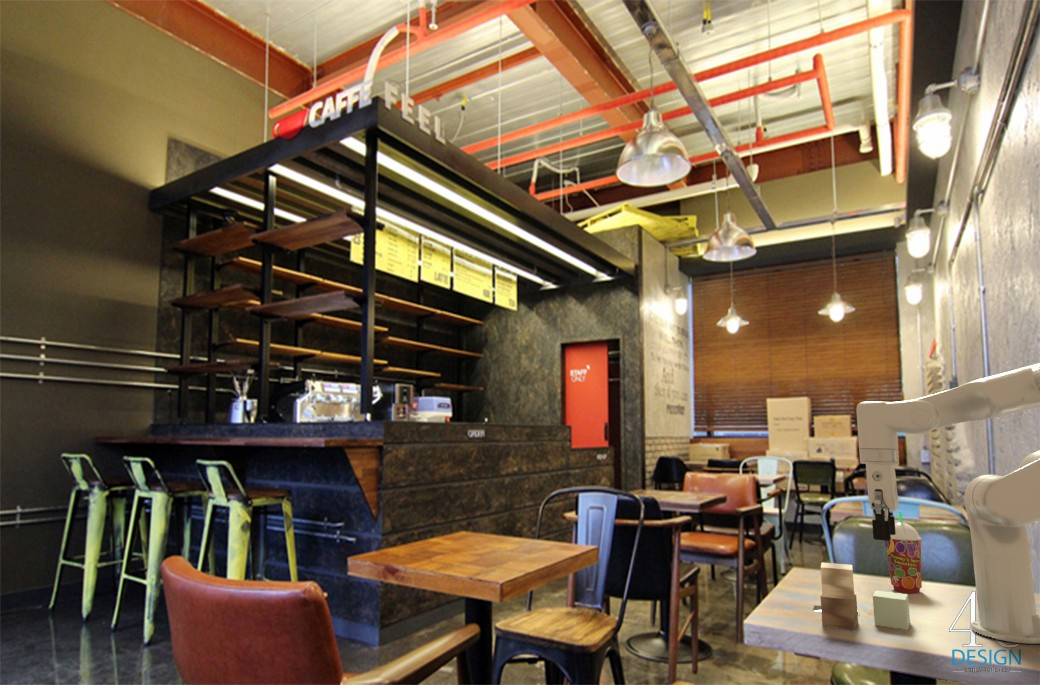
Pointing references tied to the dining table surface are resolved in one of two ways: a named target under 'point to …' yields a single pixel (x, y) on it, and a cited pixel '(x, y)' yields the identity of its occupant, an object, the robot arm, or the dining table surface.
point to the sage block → (891, 609)
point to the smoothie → (905, 558)
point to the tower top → (837, 581)
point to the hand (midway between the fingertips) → (884, 537)
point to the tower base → (839, 613)
